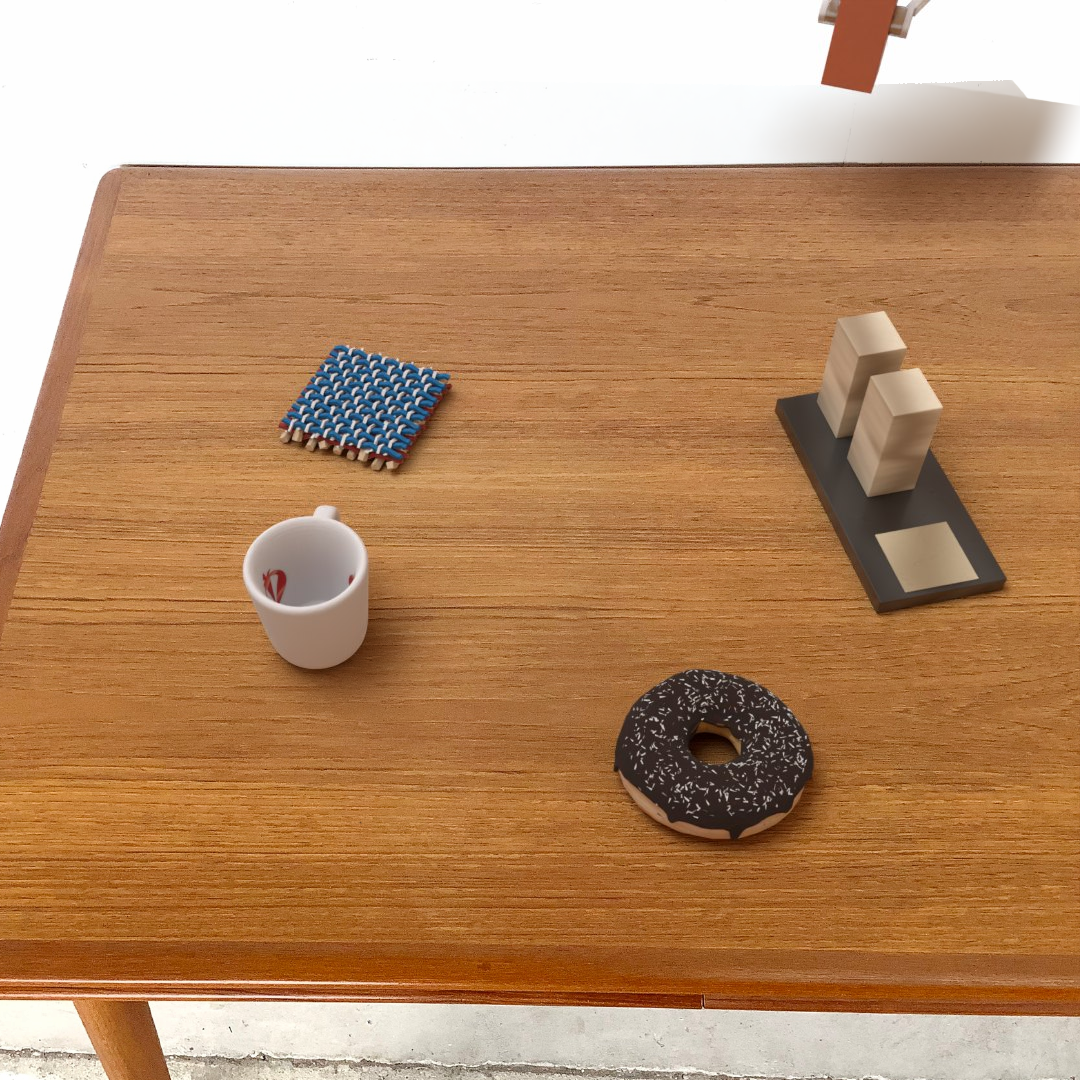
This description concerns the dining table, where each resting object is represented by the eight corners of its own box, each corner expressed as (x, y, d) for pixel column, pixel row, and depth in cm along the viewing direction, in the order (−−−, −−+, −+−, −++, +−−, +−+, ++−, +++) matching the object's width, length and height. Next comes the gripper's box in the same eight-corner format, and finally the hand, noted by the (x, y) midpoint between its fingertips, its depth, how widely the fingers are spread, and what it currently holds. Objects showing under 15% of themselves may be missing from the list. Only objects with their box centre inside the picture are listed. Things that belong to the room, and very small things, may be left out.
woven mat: (335, 355, 105) (332, 335, 104) (456, 388, 102) (455, 368, 101) (274, 441, 100) (270, 422, 98) (399, 479, 97) (397, 460, 95)
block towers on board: (886, 390, 100) (915, 295, 93) (1002, 589, 89) (1046, 498, 81) (774, 410, 100) (794, 315, 92) (876, 613, 88) (909, 524, 80)
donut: (638, 675, 86) (643, 640, 82) (820, 719, 83) (832, 684, 80) (597, 819, 79) (600, 787, 76) (792, 871, 77) (804, 840, 74)
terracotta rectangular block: (828, 62, 105) (852, -38, 99) (878, 71, 104) (906, -29, 98) (820, 84, 103) (844, -17, 97) (871, 94, 102) (898, -7, 96)
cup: (284, 554, 93) (267, 477, 87) (394, 564, 92) (385, 486, 86) (249, 679, 87) (228, 606, 80) (367, 690, 86) (355, 617, 79)
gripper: (780, -204, 97) (727, -11, 99) (1065, -162, 93) (1003, 39, 95) (781, -163, 103) (731, 18, 105) (1048, -122, 99) (990, 66, 101)
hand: (862, 28), depth 100 cm, fingers closed on terracotta rectangular block, 4 cm apart
